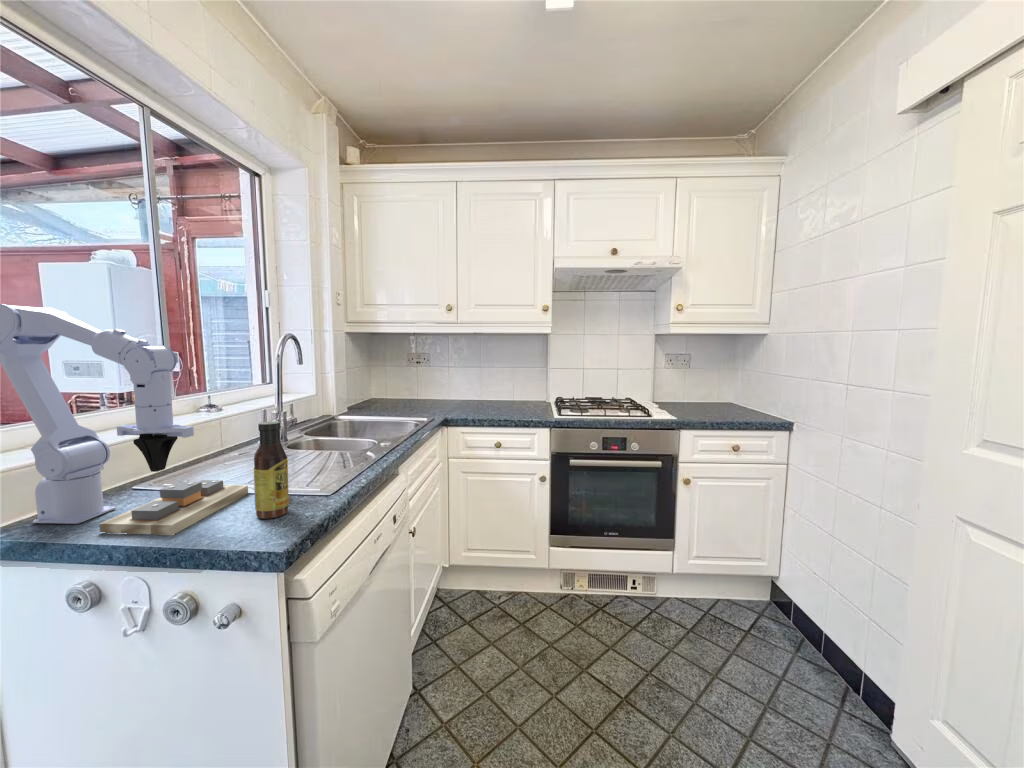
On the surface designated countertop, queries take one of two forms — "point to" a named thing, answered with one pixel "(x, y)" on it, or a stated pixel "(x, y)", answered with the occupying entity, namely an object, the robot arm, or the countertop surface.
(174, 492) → the two-dot tile
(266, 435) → the sauce bottle
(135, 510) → the grey square block
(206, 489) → the three-dot tile
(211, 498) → the beige drawer frame
